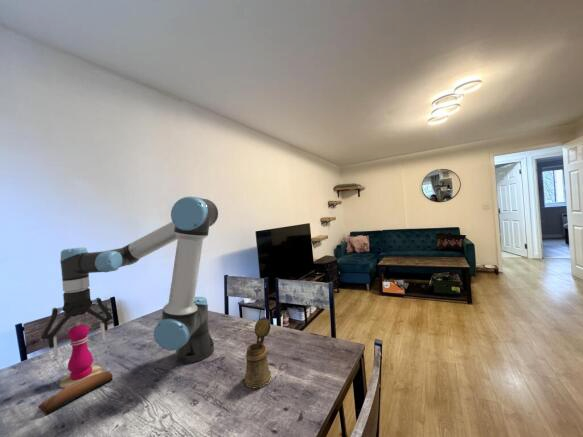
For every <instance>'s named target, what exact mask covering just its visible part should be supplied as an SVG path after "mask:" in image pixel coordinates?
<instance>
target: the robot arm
mask: <svg viewBox="0 0 583 437" xmlns="http://www.w3.org/2000/svg"><path fill="white" fill-rule="evenodd" d="M170 218H171V222H169V223H166V224H165V225H163V226H161V227H159V228H156V229H155V230H153V231H152V232H149V233H147V234H146V235H144V236H141V237H140V238H138V239H136V240H134V241H133V242H130V243H128V244H127V245H124V246H122V247H120V248H119V247H118V248H115V249H109V250H104V251H96V252H94V251H93V252H92V251H91V252H88V249H87V248H86V247H73V248H67V249H63V250H61V252H60V260H59V262H60V269H61V281H62V291H63V294H62V297H63V298H62V300H63V306H62V307H53V308H51V315H50V317H49V319H48V321H47V323H46V325H45V327H44V328H43V330H42V332H41V334H40V338H41V340H47V341H48V347H49V349H52V348H53V356H54V357H55V358H57V357H59V355H58V354H59V352H58V351H59V350H58V342H57V339H58V338H57V336H56V335H57V334H58V332H59V331H60V330H61V328H62V327H63V326H64V325H65V324H66V322H67V321H68V320H69V319H70V318H71V317H74V318H75V317H78V316H81V315H85V314H86V313H89V314H90V315H91V316H93V317H95V318H96V319H98V320H99V321H101V322H99V326H100V339H101V340H102V341H103V342H104V341H106V331H108V329H109V327H108V322H109V321H110V320H112V319H113V318H114V317H113V315H112V314H111V313H110V311H109V310H108V309H107V307H105V306H104V304H103V301H102V298H100V297H96V298H95V299H92V298H91V291H90V290H91V289H90V288H89V287H90V274H92V273H111V272H116V271H118V270H119V268H122V267H126V266H130V265H133V264H136V263H138V262H139V260H140V259H142V258H144V257H146V256H148V255H149V254H152V253H154V252H156V251H158V250H160V249H161V248H164V247H165V246H167V245H170V244H171V243H174V242H176V248H175V255H174V264H173V267H172V268H173V269H172V274H171V275H172V276H171V283H170V289H169V297H168V298H169V299H168V303H166V304H165V305H164V306H163V308H162V314H161V320H159V322H157V324H156V325H155V327H154V329H153V338H154V341H155V343H156V344H158V346H159V347H160V348H161V349H164V350H165V351H175V360H176V361H177V362H179V363H182V364H190V363H196V362H199V361H202V360H206V359H207V358H208V357H210V356H211V355H212V354H213V353H214V352H215V343H214V340H213V338H212V336H211V333H210V327H209V326H210V325H209V324H210V322H209V308H208V307H209V304H208V299H207V298H206V297H204V296H196V289H197V284H198V277H199V270H200V264H201V263H200V262H201V257H202V256H201V255H202V249H203V248H202V247H203V244H204V243H203V242H204V240H205V239H206V238H207V237H209V233H210V232H209V231H210V227H212V226H213V225H215V223H217V221H218V218H219V210H218V207H217V205H216V204H215V203H214V202H213V201H212V200H210V199H206V198H202V197H198V196H184V197H182V198H180V199H178V200H177V201H176V202H175V203H174V204H173V206H172V207H171V210H170ZM93 304H94V305H96V306H98V308H99V309H100V311H102V312H103V314H104V315H105V316H106V317H104V316H103V315H101V314H100V313H98V312H96V311H94V310H93V309H91V307H92V305H93ZM62 311H63V312H64V315H63V316H62V318H61V319H60V320H59V321H58V322H57V324H56V325H55V326H54V327H53V325H54V323H55V321H56V319H57V316H58V315H59V314H61V312H62ZM52 327H53V328H52ZM51 329H52V330H51Z"/></svg>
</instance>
